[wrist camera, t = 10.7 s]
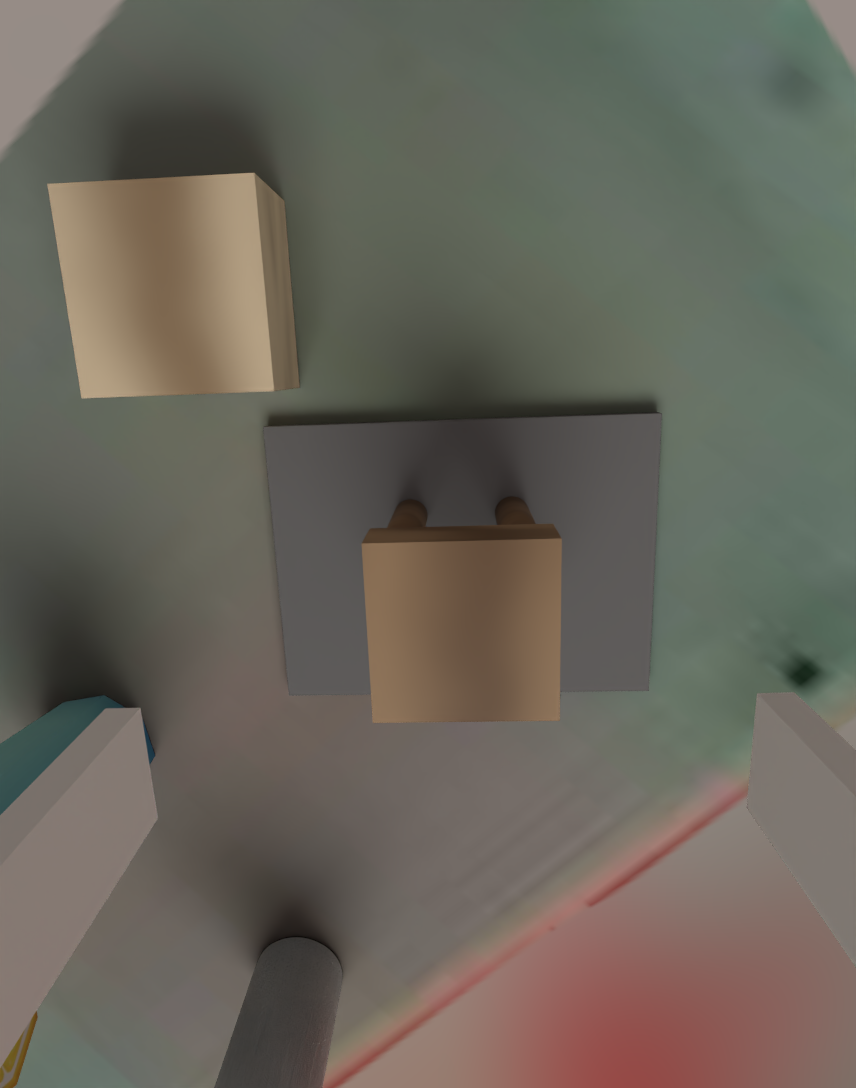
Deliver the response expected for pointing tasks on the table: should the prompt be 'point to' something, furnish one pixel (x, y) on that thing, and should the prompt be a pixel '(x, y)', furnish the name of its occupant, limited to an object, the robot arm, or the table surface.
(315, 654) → the mat
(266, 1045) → the grey hollow cylinder
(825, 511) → the table surface
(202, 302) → the oak block
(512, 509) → the stool
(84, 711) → the cup
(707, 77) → the table surface
